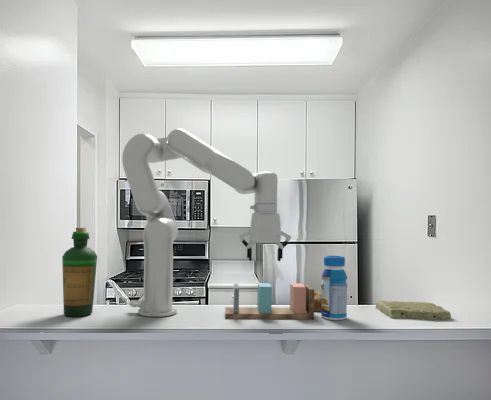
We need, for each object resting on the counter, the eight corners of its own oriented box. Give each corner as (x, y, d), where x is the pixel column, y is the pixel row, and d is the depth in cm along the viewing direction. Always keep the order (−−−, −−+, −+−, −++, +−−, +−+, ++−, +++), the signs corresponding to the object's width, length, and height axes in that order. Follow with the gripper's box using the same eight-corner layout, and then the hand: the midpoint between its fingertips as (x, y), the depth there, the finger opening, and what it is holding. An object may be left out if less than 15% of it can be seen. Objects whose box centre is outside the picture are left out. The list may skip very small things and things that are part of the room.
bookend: (233, 312, 139) (234, 288, 139) (233, 306, 148) (233, 283, 148) (238, 312, 139) (239, 288, 139) (237, 306, 148) (238, 283, 148)
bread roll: (325, 323, 150) (336, 302, 150) (299, 308, 152) (309, 288, 152) (325, 316, 160) (334, 297, 160) (299, 303, 162) (309, 284, 161)
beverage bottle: (341, 322, 136) (342, 258, 137) (316, 318, 141) (317, 256, 141) (350, 317, 143) (351, 256, 144) (326, 313, 148) (327, 254, 149)
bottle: (52, 317, 136) (55, 227, 138) (73, 310, 147) (76, 227, 148) (82, 319, 134) (85, 228, 135) (101, 312, 144) (104, 227, 145)
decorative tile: (375, 308, 160) (375, 299, 160) (430, 310, 159) (430, 300, 159) (390, 320, 141) (390, 309, 141) (453, 322, 141) (453, 311, 141)
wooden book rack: (225, 318, 138) (225, 288, 139) (225, 311, 148) (225, 283, 149) (313, 319, 140) (314, 289, 140) (308, 312, 150) (308, 284, 150)
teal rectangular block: (259, 313, 140) (259, 286, 140) (257, 308, 148) (257, 283, 148) (271, 313, 140) (271, 286, 140) (269, 308, 148) (269, 283, 148)
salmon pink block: (293, 313, 140) (293, 287, 141) (289, 308, 148) (290, 283, 149) (305, 313, 141) (305, 287, 141) (301, 308, 149) (301, 283, 149)
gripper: (240, 208, 141) (238, 261, 141) (293, 209, 142) (292, 262, 141) (239, 208, 149) (238, 259, 148) (289, 210, 149) (288, 260, 149)
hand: (264, 260), depth 145 cm, fingers open, 9 cm apart
